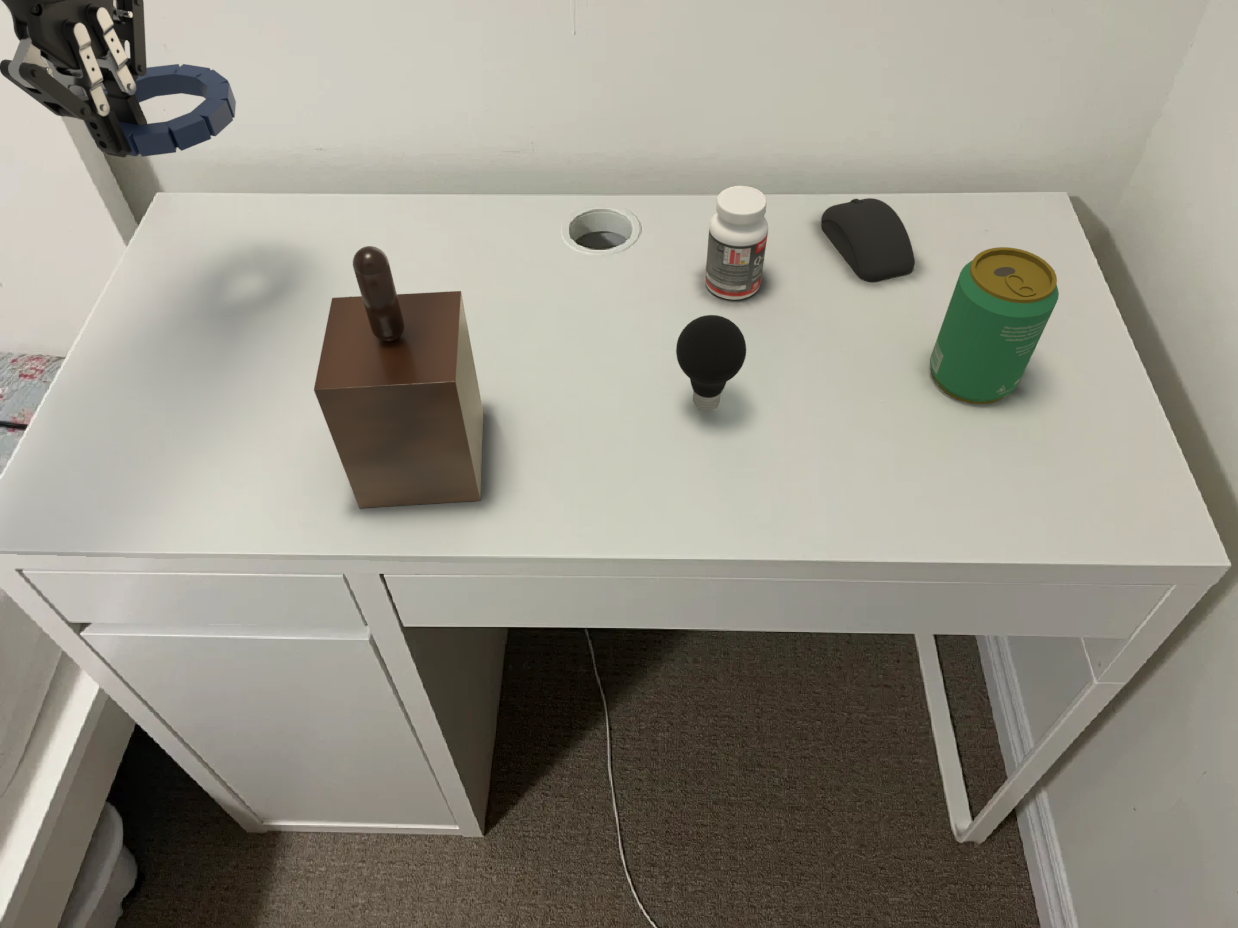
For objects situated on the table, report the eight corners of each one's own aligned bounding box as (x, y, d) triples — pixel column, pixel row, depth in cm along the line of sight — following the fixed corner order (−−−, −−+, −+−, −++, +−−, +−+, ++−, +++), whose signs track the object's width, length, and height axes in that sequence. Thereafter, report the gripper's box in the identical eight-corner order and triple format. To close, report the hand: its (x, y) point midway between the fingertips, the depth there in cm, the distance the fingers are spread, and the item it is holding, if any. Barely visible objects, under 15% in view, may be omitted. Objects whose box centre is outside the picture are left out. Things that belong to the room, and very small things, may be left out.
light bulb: (749, 421, 81) (762, 337, 73) (689, 439, 79) (695, 356, 72) (720, 377, 84) (730, 293, 77) (662, 394, 83) (666, 310, 75)
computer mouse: (867, 210, 101) (874, 178, 98) (918, 271, 94) (928, 239, 91) (815, 221, 99) (821, 189, 96) (863, 284, 93) (871, 252, 90)
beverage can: (983, 338, 87) (1025, 234, 78) (1034, 394, 83) (1085, 291, 73) (910, 358, 86) (944, 254, 76) (958, 417, 81) (1001, 314, 72)
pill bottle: (762, 302, 91) (774, 218, 83) (705, 301, 91) (712, 218, 83) (758, 265, 95) (769, 182, 87) (703, 265, 95) (710, 182, 87)
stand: (359, 508, 75) (279, 302, 58) (371, 418, 81) (303, 209, 64) (480, 500, 75) (437, 293, 58) (483, 412, 82) (445, 202, 65)
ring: (83, 164, 73) (72, 143, 71) (102, 93, 80) (92, 73, 79) (232, 145, 74) (225, 125, 73) (237, 77, 82) (231, 57, 80)
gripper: (41, -130, 66) (140, 98, 79) (-107, -56, 57) (32, 185, 71) (130, -120, 64) (215, 110, 78) (-9, -43, 56) (114, 201, 69)
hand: (127, 145), depth 74 cm, fingers closed on ring, 2 cm apart
